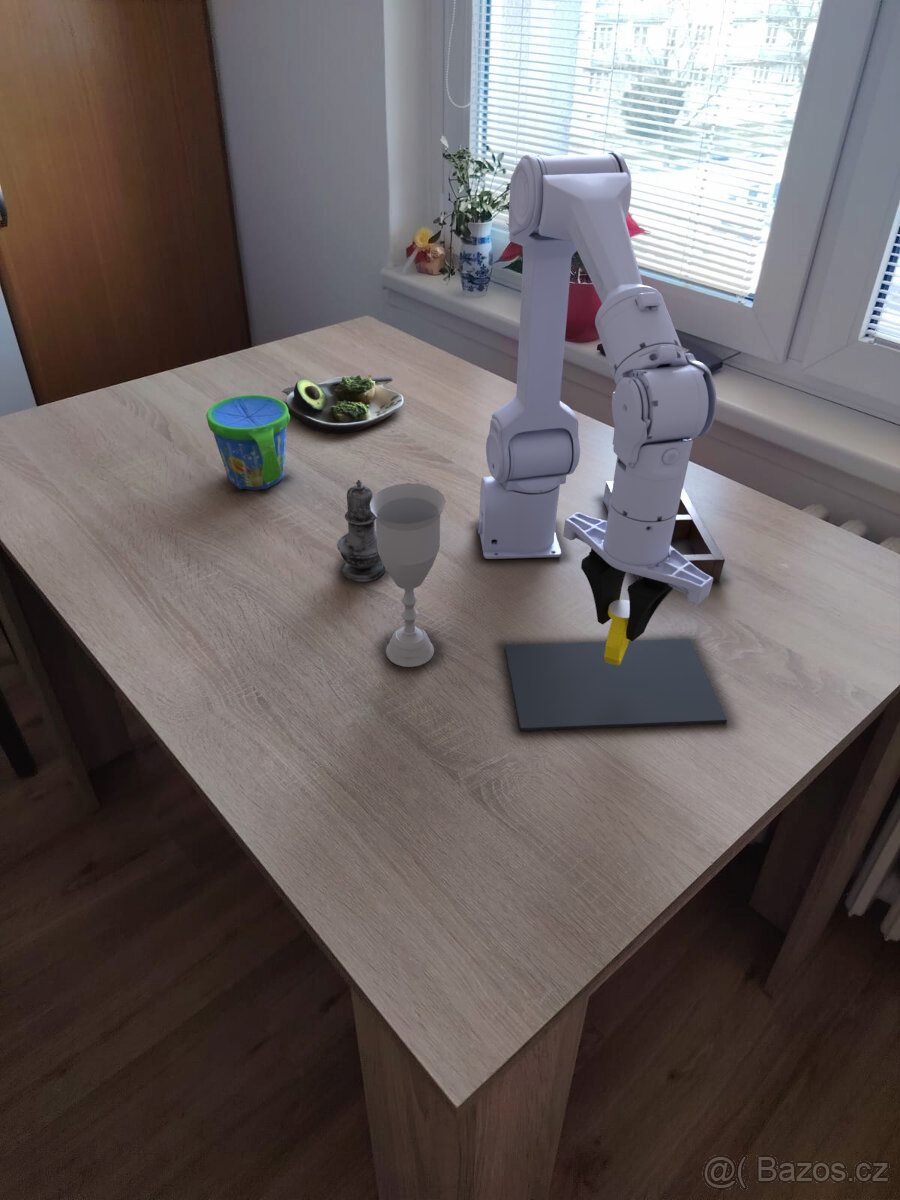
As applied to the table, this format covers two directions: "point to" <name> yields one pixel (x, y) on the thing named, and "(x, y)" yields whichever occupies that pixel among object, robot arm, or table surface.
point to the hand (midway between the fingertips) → (620, 626)
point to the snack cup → (251, 439)
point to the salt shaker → (360, 538)
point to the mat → (610, 686)
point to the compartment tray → (690, 536)
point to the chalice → (408, 557)
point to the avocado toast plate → (342, 403)
